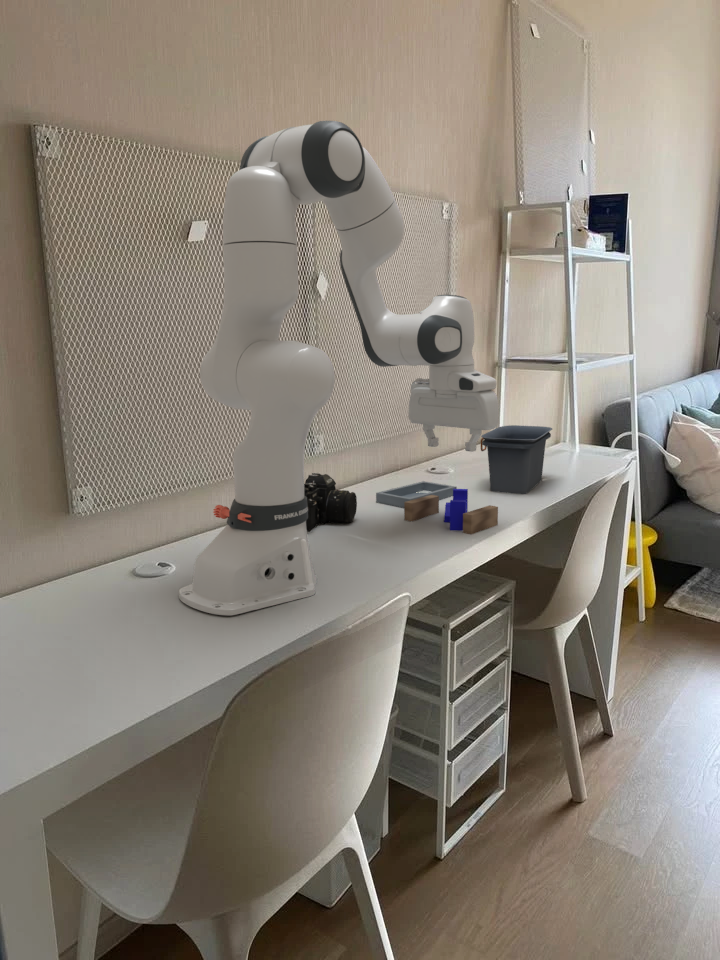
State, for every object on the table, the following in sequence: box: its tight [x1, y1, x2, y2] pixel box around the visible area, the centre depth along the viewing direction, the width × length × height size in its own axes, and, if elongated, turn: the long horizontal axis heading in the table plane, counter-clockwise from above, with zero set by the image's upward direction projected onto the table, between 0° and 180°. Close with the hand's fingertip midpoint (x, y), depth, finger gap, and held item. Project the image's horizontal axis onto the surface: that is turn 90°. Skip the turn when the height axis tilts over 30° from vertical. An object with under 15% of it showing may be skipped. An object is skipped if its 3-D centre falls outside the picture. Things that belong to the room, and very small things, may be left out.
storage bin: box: [480, 424, 553, 495], centre depth 184 cm, size 21×16×14 cm
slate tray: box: [375, 480, 458, 509], centre depth 174 cm, size 17×10×2 cm, turn 136°
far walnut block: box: [403, 495, 440, 522], centre depth 159 cm, size 9×2×4 cm, turn 136°
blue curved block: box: [443, 488, 469, 532], centre depth 154 cm, size 12×4×6 cm, turn 170°
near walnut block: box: [462, 504, 499, 535], centre depth 149 cm, size 9×2×4 cm, turn 136°
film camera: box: [304, 472, 358, 532], centre depth 156 cm, size 18×12×10 cm
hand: (451, 448), depth 151 cm, fingers open, 8 cm apart
